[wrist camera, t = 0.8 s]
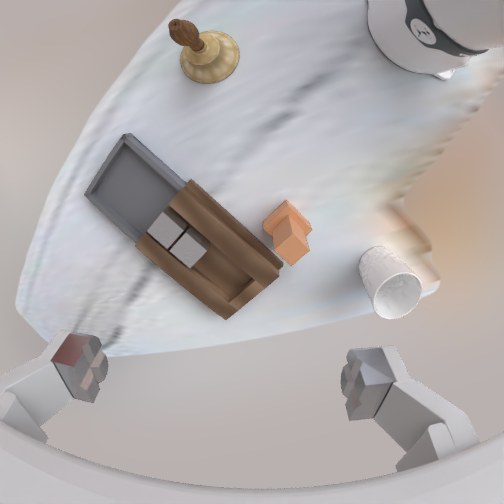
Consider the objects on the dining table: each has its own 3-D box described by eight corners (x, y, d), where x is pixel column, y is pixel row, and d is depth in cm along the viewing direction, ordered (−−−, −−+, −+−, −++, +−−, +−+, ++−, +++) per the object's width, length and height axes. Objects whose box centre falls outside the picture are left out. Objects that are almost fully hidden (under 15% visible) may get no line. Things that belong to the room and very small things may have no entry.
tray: (130, 133, 38) (123, 134, 36) (187, 183, 42) (182, 187, 40) (91, 191, 42) (83, 194, 40) (142, 237, 46) (136, 243, 44)
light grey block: (190, 225, 43) (185, 232, 40) (210, 242, 44) (207, 251, 42) (174, 242, 44) (169, 250, 42) (194, 259, 46) (190, 268, 43)
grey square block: (168, 205, 42) (162, 211, 39) (188, 223, 43) (183, 230, 40) (153, 224, 43) (146, 231, 41) (173, 240, 44) (167, 249, 42)
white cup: (353, 286, 48) (369, 323, 39) (356, 244, 45) (376, 275, 36) (394, 282, 47) (417, 315, 38) (400, 240, 44) (426, 269, 35)
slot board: (191, 179, 41) (186, 183, 38) (282, 262, 46) (283, 272, 44) (139, 241, 46) (131, 250, 43) (224, 312, 51) (221, 323, 48)
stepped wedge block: (286, 199, 42) (292, 222, 33) (309, 222, 44) (320, 251, 34) (263, 221, 44) (262, 249, 35) (286, 243, 45) (291, 275, 36)
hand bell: (204, 95, 36) (168, 81, 22) (169, 56, 34) (120, 28, 19) (251, 59, 34) (243, 24, 19) (215, 21, 31) (188, -26, 17)
